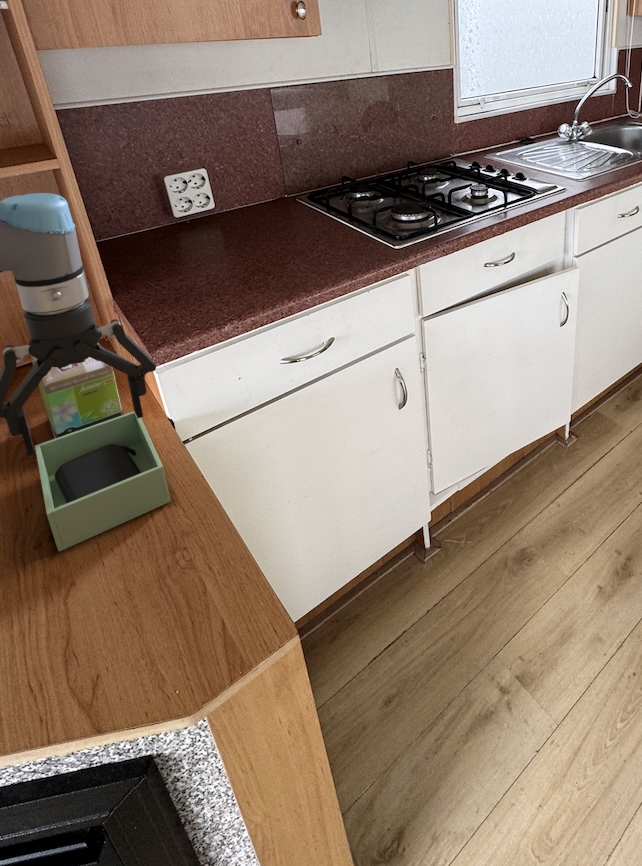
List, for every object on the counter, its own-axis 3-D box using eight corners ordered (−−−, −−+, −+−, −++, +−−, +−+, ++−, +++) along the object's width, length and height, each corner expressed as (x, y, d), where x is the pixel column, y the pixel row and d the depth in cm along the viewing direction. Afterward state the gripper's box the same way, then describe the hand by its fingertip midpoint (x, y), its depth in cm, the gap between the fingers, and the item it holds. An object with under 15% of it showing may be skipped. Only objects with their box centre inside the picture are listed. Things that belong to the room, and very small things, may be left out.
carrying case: (159, 491, 91) (129, 447, 100) (156, 476, 90) (125, 432, 99) (78, 531, 83) (54, 479, 92) (74, 515, 82) (49, 464, 91)
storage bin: (58, 552, 81) (46, 514, 79) (45, 479, 94) (34, 445, 91) (170, 501, 90) (163, 466, 87) (144, 442, 102) (137, 409, 100)
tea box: (129, 434, 104) (113, 363, 99) (62, 461, 98) (40, 386, 93) (109, 397, 114) (93, 331, 109) (47, 419, 108) (26, 350, 103)
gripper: (-66, 342, 70) (-21, 482, 77) (163, 290, 86) (184, 411, 93) (-65, 319, 75) (-23, 452, 82) (152, 274, 91) (172, 390, 98)
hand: (87, 431), depth 88 cm, fingers open, 13 cm apart
